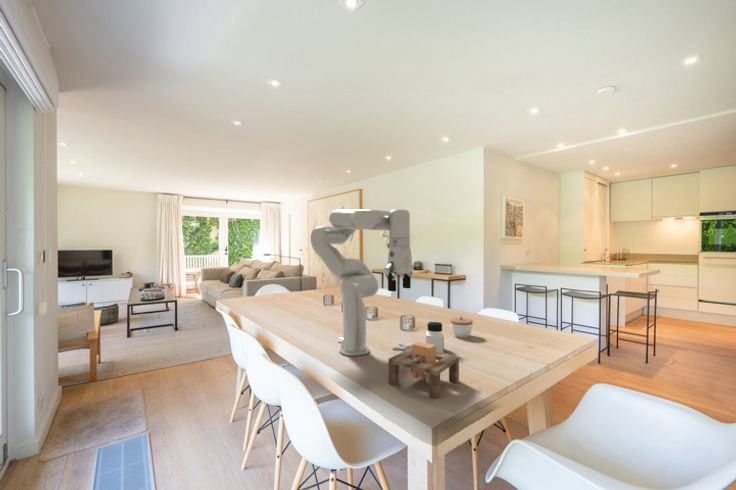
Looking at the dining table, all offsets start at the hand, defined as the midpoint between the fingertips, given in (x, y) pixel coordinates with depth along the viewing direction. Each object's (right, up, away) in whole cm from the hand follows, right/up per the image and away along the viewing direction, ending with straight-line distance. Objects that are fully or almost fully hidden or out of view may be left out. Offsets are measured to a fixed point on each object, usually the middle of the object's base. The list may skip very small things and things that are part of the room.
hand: (399, 289), depth 120 cm
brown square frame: (+7, -28, -14) cm, 32 cm away
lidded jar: (+34, -28, +39) cm, 59 cm away
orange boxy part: (+7, -27, -14) cm, 31 cm away
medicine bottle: (+17, -28, +17) cm, 37 cm away
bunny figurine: (+6, -29, +10) cm, 31 cm away
